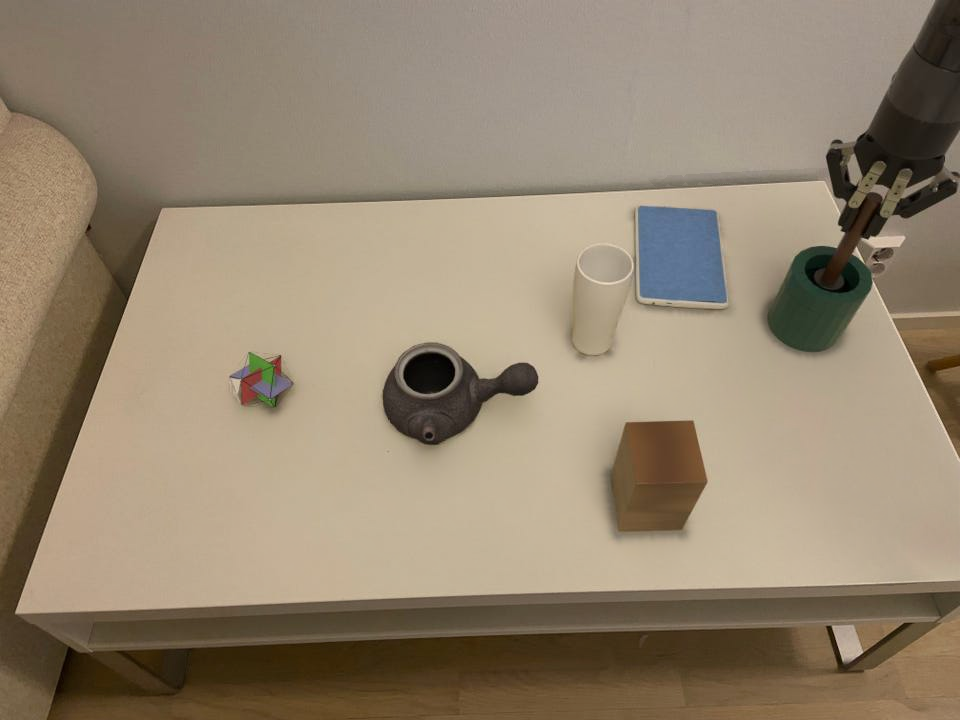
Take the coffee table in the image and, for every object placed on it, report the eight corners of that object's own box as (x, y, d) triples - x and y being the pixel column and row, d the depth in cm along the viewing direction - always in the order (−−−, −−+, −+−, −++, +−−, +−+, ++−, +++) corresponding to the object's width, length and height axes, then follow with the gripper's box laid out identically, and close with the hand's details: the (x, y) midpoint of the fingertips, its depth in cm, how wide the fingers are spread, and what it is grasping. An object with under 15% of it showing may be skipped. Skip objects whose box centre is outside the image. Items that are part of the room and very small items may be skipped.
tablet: (728, 311, 96) (730, 305, 95) (635, 304, 97) (636, 298, 96) (716, 215, 107) (719, 208, 106) (633, 210, 108) (635, 203, 107)
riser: (670, 473, 82) (693, 420, 72) (681, 530, 78) (708, 482, 68) (610, 474, 82) (625, 422, 72) (618, 531, 78) (635, 484, 68)
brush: (831, 300, 91) (894, 192, 77) (825, 319, 89) (888, 212, 75) (803, 290, 92) (860, 182, 78) (797, 309, 91) (853, 202, 76)
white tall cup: (555, 340, 93) (563, 262, 81) (589, 313, 96) (603, 233, 84) (593, 370, 90) (607, 293, 78) (627, 342, 93) (647, 263, 81)
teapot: (380, 471, 83) (367, 428, 75) (387, 365, 92) (376, 316, 84) (539, 466, 83) (544, 423, 74) (530, 360, 92) (534, 311, 84)
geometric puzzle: (271, 344, 91) (230, 340, 84) (312, 366, 89) (273, 363, 82) (251, 394, 92) (208, 394, 85) (291, 417, 90) (250, 419, 82)
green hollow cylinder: (847, 312, 95) (879, 261, 87) (831, 362, 90) (864, 312, 82) (777, 288, 98) (802, 236, 90) (759, 335, 93) (783, 285, 85)
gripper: (847, 98, 67) (786, 232, 81) (1006, 138, 62) (913, 272, 76) (863, 59, 70) (803, 193, 84) (1014, 95, 66) (924, 230, 80)
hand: (856, 230), depth 80 cm, fingers closed on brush, 2 cm apart
